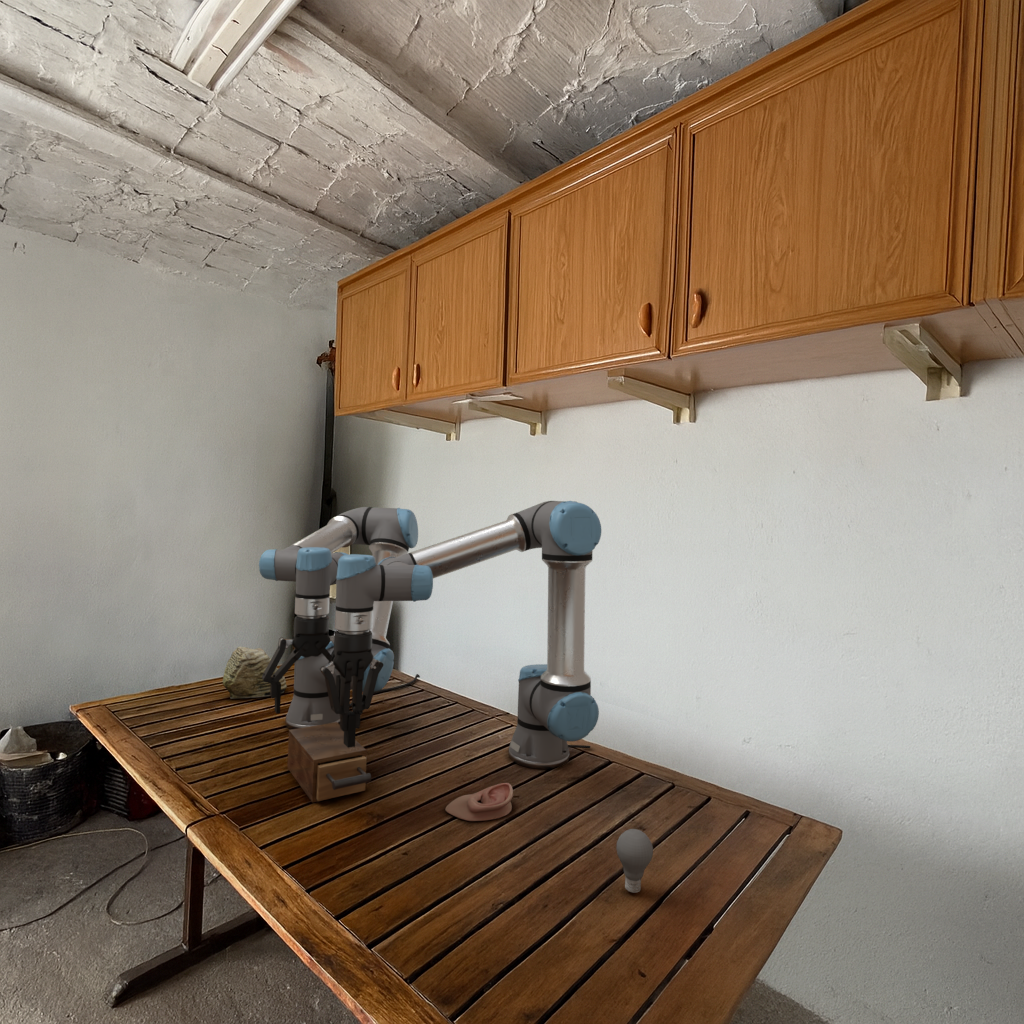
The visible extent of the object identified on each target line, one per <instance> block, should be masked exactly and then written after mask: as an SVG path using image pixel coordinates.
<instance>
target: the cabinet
mask: <svg viewBox="0 0 1024 1024" xmlns="http://www.w3.org/2000/svg"><path fill="white" fill-rule="evenodd" d="M287 742H288V745H287V770H288V771H289V772H290V773H291V775H292V777H293V778H294V779H295V780H296V782H297V783H298V785H299V786H300V788H301V789H302V791H303V792H304V793H305V795H306V796H307V798H308V799H309V800H310V802H311V803H317V802H319V801H318V800H317V799H316V798H317V772H318V763H323V762H328V761H334V760H339V759H344V758H349V757H354V756H358V757H363V756H365V757H366V758H367V749H366V748H365V747H364V746H363V745H362V744H361V743H359V741H358V740H356V739H355V747H350V748H348V747H347V746H346V745H345V744H344V743H343V742H344V731H342V730H341V728H340V725H339V724H338V723H337V722H335V723H329V724H323V725H316V726H310V727H304V728H298V729H288V741H287Z"/></svg>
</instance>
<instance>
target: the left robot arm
mask: <svg viewBox="0 0 1024 1024" xmlns="http://www.w3.org/2000/svg"><path fill="white" fill-rule="evenodd" d="M418 525H419V524H418V520H417V516H416V514H415V513H414V511H412V510H411V509H407V508H400V507H378V506H377V507H374V506H373V507H372V506H361V507H357V508H353V509H350V510H349V509H348V510H347V511H343V512H342V513H340V514H337V515H336V516H334V517H332V518H330V519H329V521H328V522H327V524H326V525H325V526H323V527H321V528H319V529H317V530H316V531H314V532H312V533H310V534H309V535H307V536H305V537H303V538H302V539H300V540H298V541H296V542H294V543H292V544H291V545H289V546H286V547H285V548H282V549H278V548H275V549H266V550H265V551H263V553H261V555H260V557H259V560H258V568H259V573H260V576H261V577H262V578H263V579H265V580H272V581H276V582H278V581H279V582H295V599H294V614H295V615H296V616H295V617H294V621H293V622H294V623H293V624H294V625H293V637H292V638H284V637H282V636H281V637H279V639H278V642H277V648H276V649H275V651H274V653H273V655H272V657H271V661H270V662H269V664H268V666H267V668H266V670H265V672H264V673H263V675H262V679H263V680H264V682H269V683H270V684H271V685H270V695H271V696H270V697H271V699H274V712H275V714H276V715H279V714H281V702H282V701H281V699H282V693H281V683H280V682H279V680H280V679H281V678H282V677H283V676H284V677H285V675H286V674H287V672H288V671H290V669H291V667H293V665H294V672H293V695H292V696H293V697H292V699H291V702H290V704H289V708H288V711H287V713H286V715H285V726H286V728H287V729H288V730H292V729H298V728H304V727H310V726H316V725H323V724H329V723H335V722H337V723H338V724H339V725H340V714H336V713H335V712H334V711H333V710H332V709H331V706H330V701H329V696H328V691H327V686H326V682H325V677H324V676H323V674H322V673H321V671H320V667H321V666H326V665H327V664H329V663H330V662H331V659H332V656H333V654H334V636H335V634H333V635H330V634H329V630H330V628H329V627H330V616H328V615H329V614H330V599H331V598H330V597H331V586H333V585H336V577H337V569H338V560H339V559H340V557H341V556H343V555H349V554H348V553H346V552H343V551H338V550H339V549H342V548H349V547H351V546H352V545H361V546H362V545H363V546H368V550H370V552H371V553H372V555H371V556H374V557H375V562H376V565H378V563H379V562H380V561H381V560H383V559H385V558H388V557H398V556H401V555H404V554H408V553H409V550H410V549H413V548H415V547H417V544H418V541H419V526H418ZM393 603H394V601H374V604H373V627H372V629H370V631H371V632H372V649H371V651H372V654H373V658H374V659H376V660H379V661H380V662H382V663H383V667H382V669H381V671H380V672H379V674H378V678H377V682H376V685H375V689H374V693H373V695H375V694H379V693H384V692H389V691H393V690H398V689H401V688H404V687H408V686H410V685H413V684H414V683H415V682H416V681H417V680H418V679H419V678H421V676H420V674H418V673H416V674H415V676H414V678H413V680H411V681H409V682H407V683H403V684H400V685H396V686H393V687H386V688H384V687H385V686H386V685H387V684H388V682H389V681H390V678H391V677H392V676H391V675H392V673H393V670H394V666H395V665H394V664H395V661H394V660H395V654H394V652H393V650H392V649H391V648H390V645H391V644H390V641H388V639H387V634H388V628H389V623H390V618H391V613H392V608H393ZM291 645H292V647H293V648H294V649H293V650H292V651H291V652H290V654H289V656H288V657H287V658H286V659H285V660H284V662H283V663H282V664H281V665H280V666H279V667H278V664H279V663H280V662H281V659H282V657H283V656H284V654H285V651H286V649H288V648H289V647H290V646H291ZM369 666H370V665H369ZM369 666H368V668H367V669H366V671H365V672H364V680H363V686H362V692H363V691H364V687H365V683H366V679H367V676H368V672H369V669H370V667H369ZM276 668H278V670H277V671H276V672H275V673H274V674H273V672H274V670H275V669H276ZM272 674H273V676H272ZM333 677H334V680H335V684H336V689H337V694H338V699H339V704H340V687H341V679H340V673H339V672H338V671H337V669H336V668H335V667H334V674H333ZM352 689H353V677H352V681H351V684H350V691H352ZM362 695H363V693H362ZM350 707H352V701H350Z"/></svg>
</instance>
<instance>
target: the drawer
mask: <svg viewBox="0 0 1024 1024" xmlns="http://www.w3.org/2000/svg"><path fill="white" fill-rule="evenodd" d="M371 781H372V775H371V773H370V772H367V756H366V757H365V756H363V757H358V756H354V757H349V758H344V759H339V760H334V761H328V762H323V763H318V772H317V798H316V799H317V800H318V801H317V802H321V801H326V800H329V799H334V798H339V797H343V796H348V795H352V794H357V793H360V792H364V791H366V786H367V785H366V783H370V782H371Z"/></svg>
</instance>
